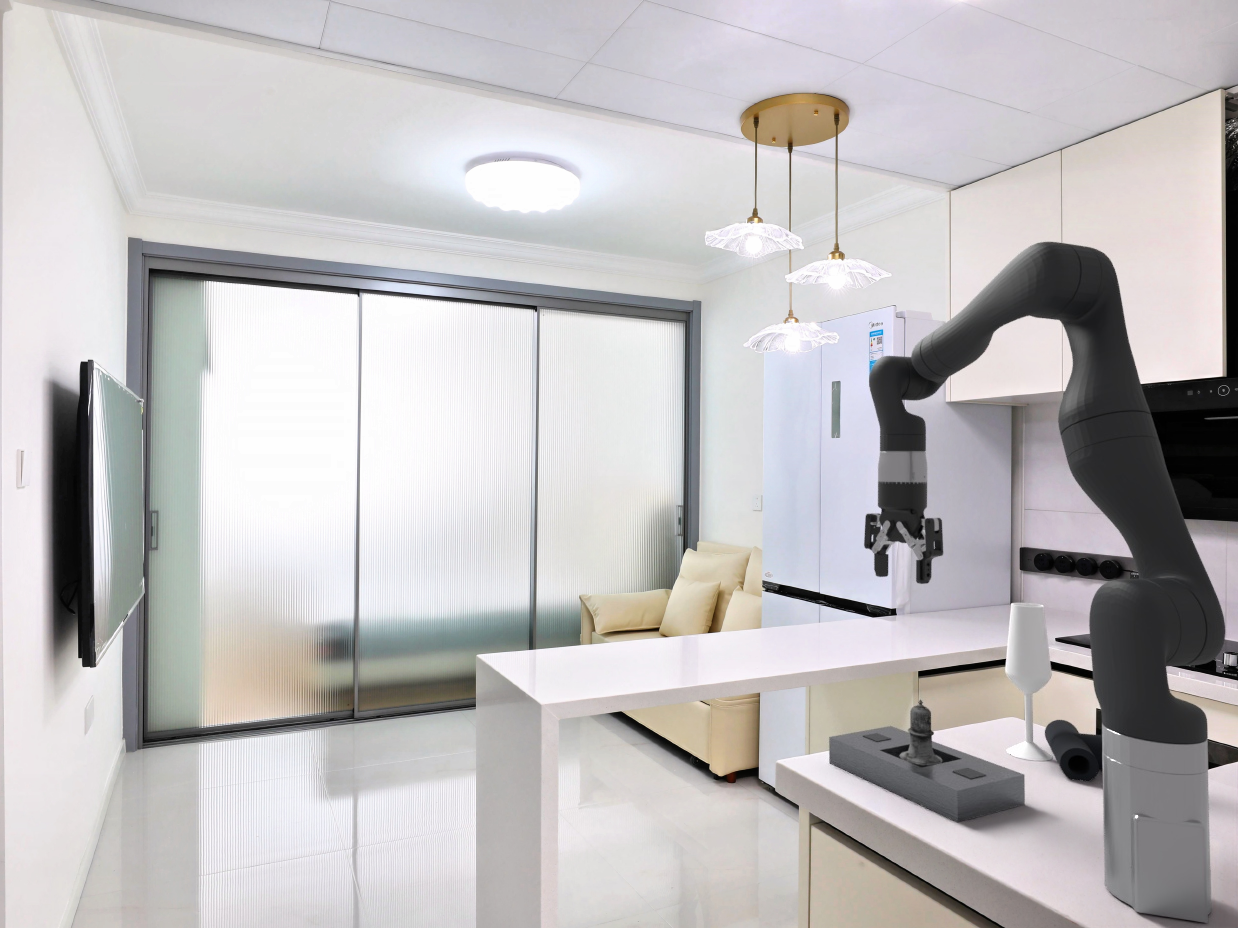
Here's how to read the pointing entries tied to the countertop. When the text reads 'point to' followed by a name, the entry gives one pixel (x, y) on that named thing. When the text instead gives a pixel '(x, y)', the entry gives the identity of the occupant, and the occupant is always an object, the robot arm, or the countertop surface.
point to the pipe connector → (1075, 750)
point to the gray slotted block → (929, 774)
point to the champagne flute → (1028, 668)
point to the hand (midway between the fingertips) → (901, 579)
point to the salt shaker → (920, 738)
